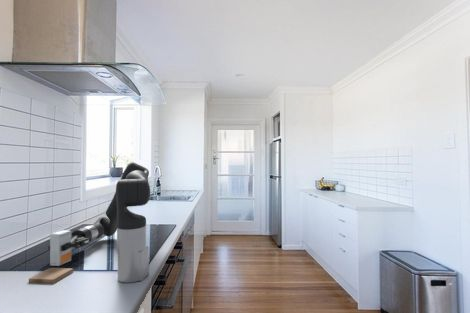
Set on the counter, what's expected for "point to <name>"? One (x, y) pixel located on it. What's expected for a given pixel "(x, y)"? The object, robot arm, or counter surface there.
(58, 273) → the plate
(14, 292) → the counter surface
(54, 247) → the skincare box
